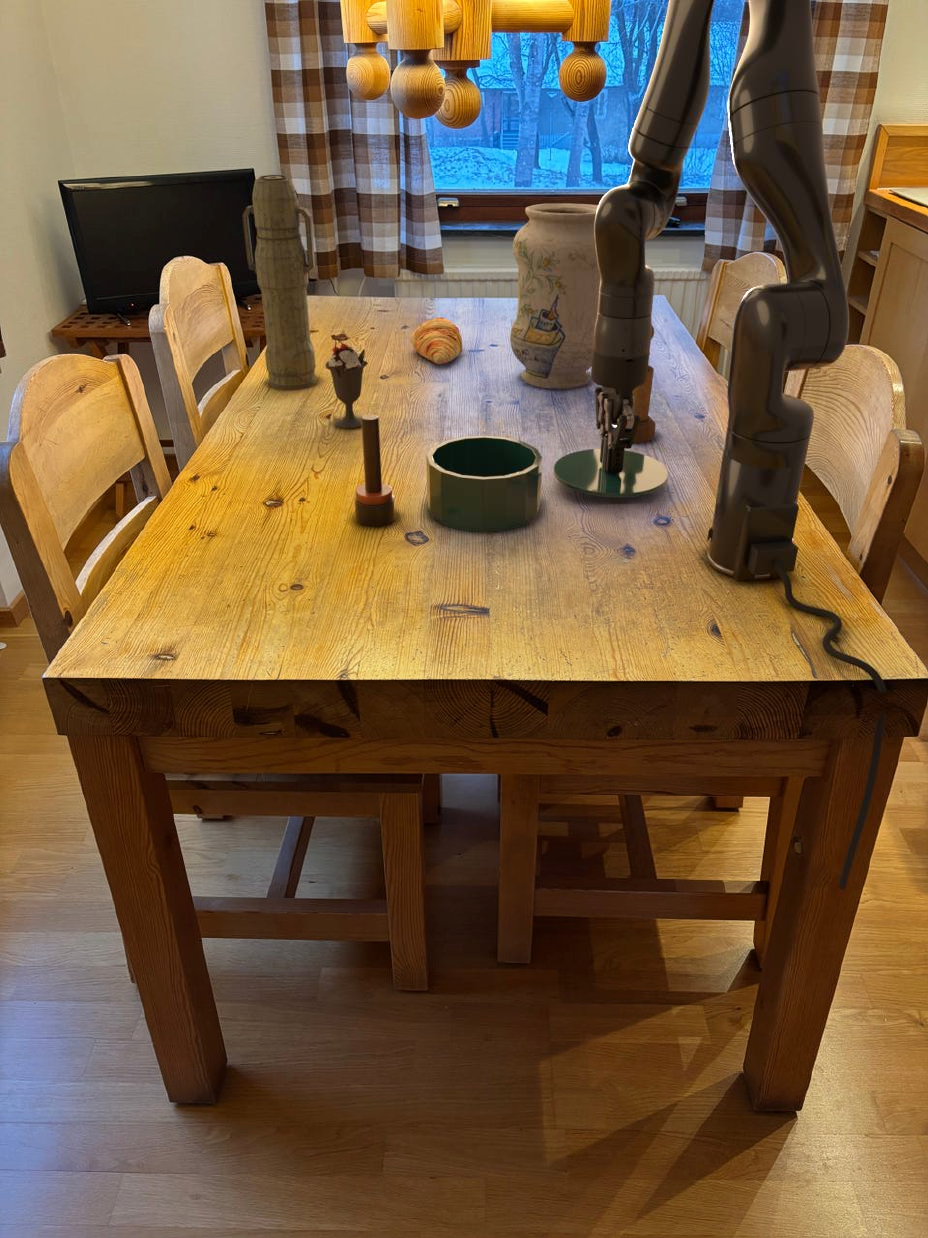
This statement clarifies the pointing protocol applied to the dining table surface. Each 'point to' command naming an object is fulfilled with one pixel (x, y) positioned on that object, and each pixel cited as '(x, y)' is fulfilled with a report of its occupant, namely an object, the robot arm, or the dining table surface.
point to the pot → (484, 483)
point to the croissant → (437, 340)
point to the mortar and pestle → (644, 408)
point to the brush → (373, 480)
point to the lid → (593, 478)
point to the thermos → (283, 279)
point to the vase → (556, 295)
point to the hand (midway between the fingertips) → (610, 467)
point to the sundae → (347, 380)
